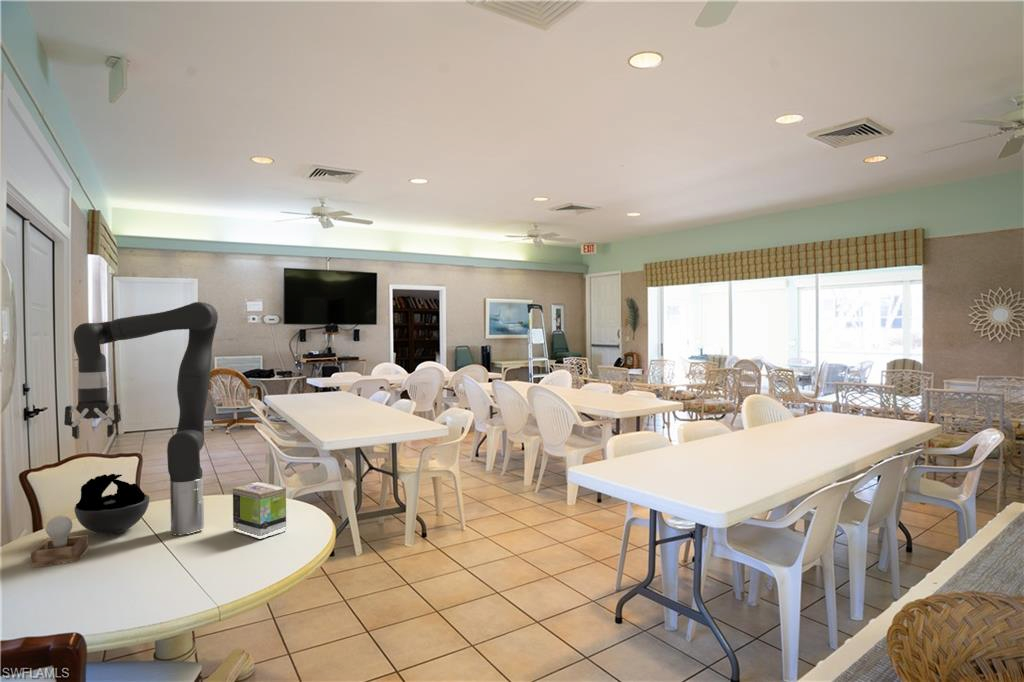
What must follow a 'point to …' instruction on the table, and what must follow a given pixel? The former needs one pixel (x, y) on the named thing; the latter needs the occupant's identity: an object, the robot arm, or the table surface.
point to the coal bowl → (110, 505)
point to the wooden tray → (59, 551)
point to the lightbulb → (59, 530)
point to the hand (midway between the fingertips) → (93, 437)
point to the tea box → (259, 508)
